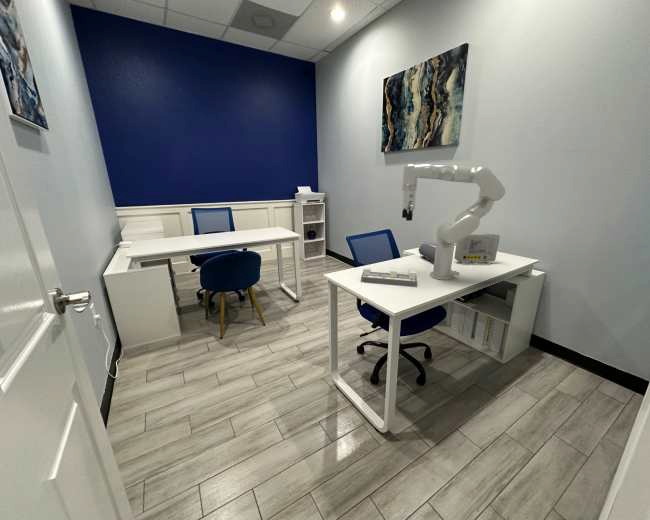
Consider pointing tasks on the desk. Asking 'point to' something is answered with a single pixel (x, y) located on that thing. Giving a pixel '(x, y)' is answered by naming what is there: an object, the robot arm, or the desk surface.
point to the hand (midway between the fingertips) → (406, 219)
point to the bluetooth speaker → (428, 252)
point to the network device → (477, 248)
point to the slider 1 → (366, 270)
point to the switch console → (389, 279)
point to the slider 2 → (412, 274)
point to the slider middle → (393, 273)
